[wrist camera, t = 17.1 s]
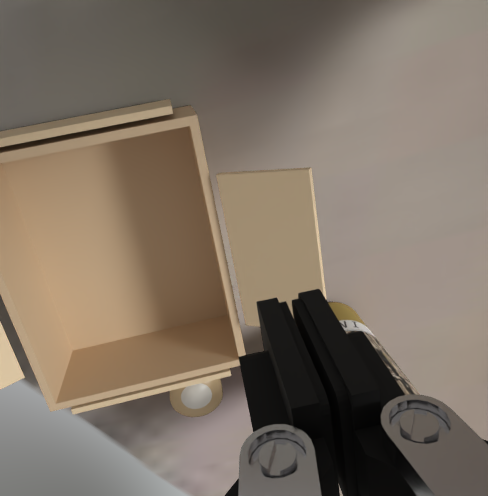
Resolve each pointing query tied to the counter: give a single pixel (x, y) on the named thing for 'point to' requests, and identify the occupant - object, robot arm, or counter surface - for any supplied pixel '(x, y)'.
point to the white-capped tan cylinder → (197, 398)
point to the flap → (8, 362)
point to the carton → (115, 256)
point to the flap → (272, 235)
